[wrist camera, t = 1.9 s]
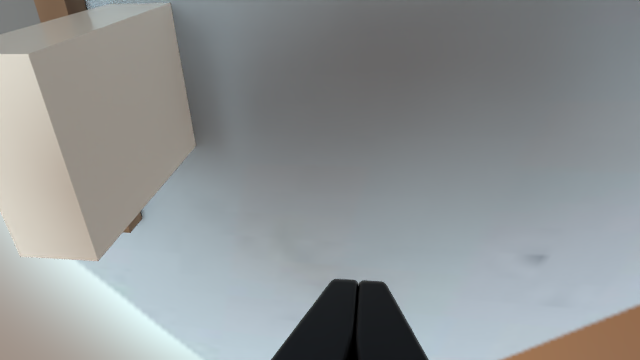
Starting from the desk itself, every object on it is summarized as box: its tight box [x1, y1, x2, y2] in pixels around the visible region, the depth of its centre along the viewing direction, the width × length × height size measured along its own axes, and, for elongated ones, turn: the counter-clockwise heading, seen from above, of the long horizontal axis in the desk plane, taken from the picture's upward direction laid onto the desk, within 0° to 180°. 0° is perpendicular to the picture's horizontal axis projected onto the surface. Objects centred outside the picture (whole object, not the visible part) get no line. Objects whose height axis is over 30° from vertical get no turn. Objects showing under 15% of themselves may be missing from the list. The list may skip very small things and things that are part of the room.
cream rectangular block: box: [0, 3, 196, 261], centre depth 15 cm, size 3×6×8 cm, turn 2°
